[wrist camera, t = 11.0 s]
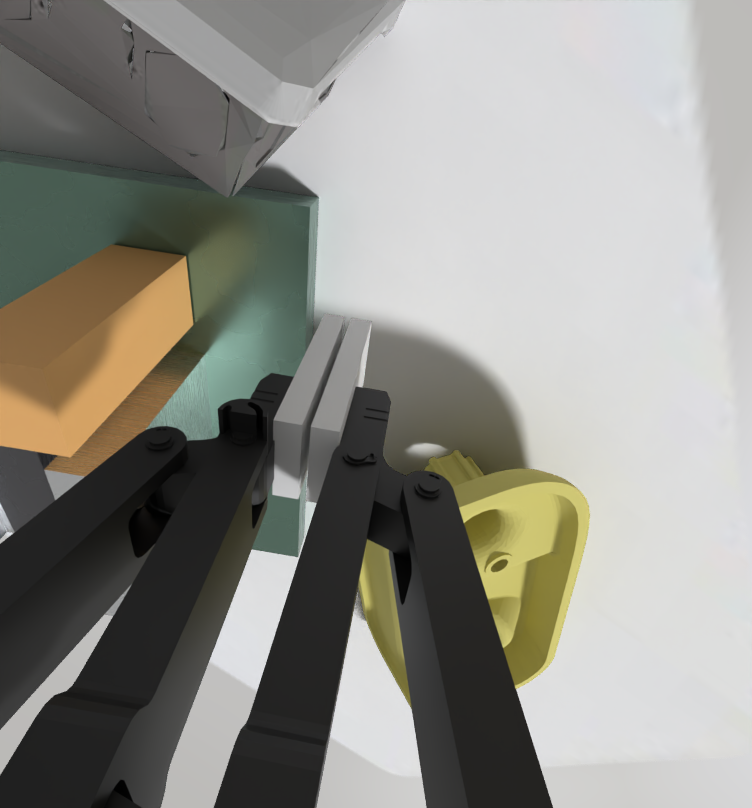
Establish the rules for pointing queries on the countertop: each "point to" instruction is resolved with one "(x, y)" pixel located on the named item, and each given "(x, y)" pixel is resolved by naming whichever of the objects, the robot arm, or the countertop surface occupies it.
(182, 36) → the electrical switch
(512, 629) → the plastic component
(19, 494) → the strap
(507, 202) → the countertop surface
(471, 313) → the countertop surface
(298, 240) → the green mounting baseplate
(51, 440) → the block
